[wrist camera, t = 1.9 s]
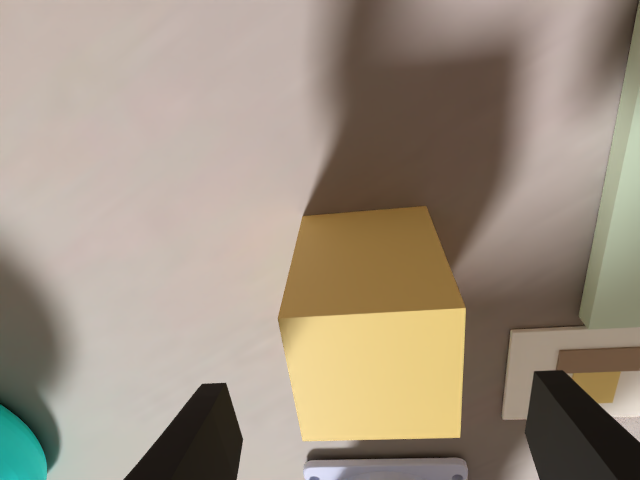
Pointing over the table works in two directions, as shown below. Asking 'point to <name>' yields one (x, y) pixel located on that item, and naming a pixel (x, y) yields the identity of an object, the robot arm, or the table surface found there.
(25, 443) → the donuts
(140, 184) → the table surface
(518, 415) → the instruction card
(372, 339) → the top brick
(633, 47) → the build plate
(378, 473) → the robot arm
